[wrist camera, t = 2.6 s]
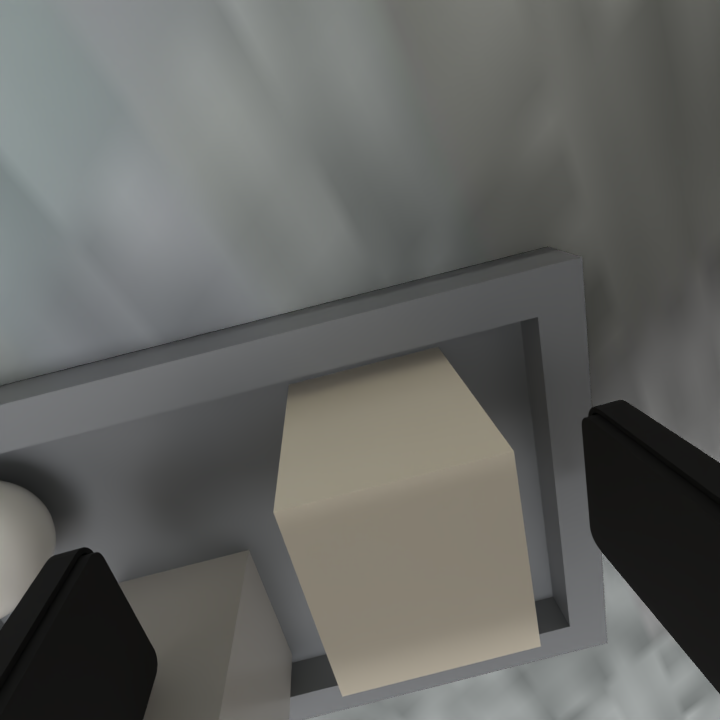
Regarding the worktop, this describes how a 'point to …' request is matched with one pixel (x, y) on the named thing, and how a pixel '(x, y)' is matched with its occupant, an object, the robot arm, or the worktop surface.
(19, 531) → the pebble
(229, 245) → the worktop surface
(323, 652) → the tray
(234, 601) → the grey sharp-edged block
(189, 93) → the worktop surface
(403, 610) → the cream cube
